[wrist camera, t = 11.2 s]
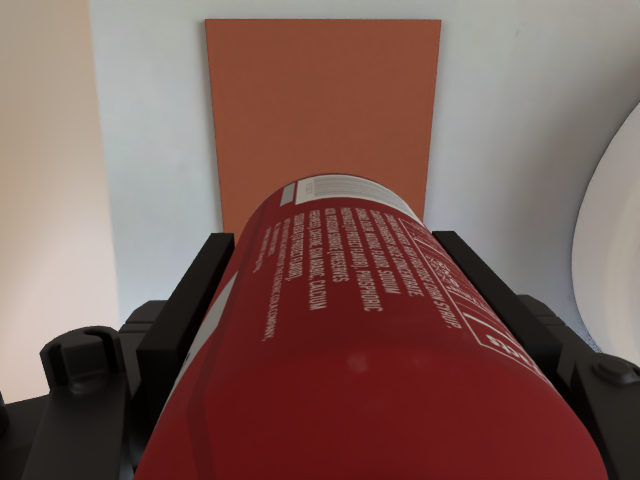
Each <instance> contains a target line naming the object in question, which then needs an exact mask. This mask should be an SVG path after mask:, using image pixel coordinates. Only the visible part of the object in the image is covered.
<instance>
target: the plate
mask: <svg viewBox="0 0 640 480" xmlns="http://www.w3.org/2000/svg"><path fill="white" fill-rule="evenodd" d="M572 281H573V290H574V294H575V299H576V303H577V307H578V310H579V312H580V315H581V318H582V320H583V323H584V325H585V326H586V328H587V330H588V332H589V334H590V335H591V337H592V339H593V340H594V341H595V343H596V344H597V345H598V347H599V348H600V349H601V351H602V352H603V353H606V354H609V355H613V356H617V357H620V358H622V359H625V360H627V361H630V362H632V363H634V364H635V365H637V366H638V367H640V102H639V104H638V105H637V106H636V107H635V109H634V110H633V111H632V112H631V113H630V115H629V116H628V117H627V119H626V120H625V122H624V123H623V125H622V126H621V127H620V129H619V130H618V132H617V133H616V135H615V136H614V138H613V139H612V141H611V143H610V144H609V146H608V148H607V150H606V151H605V153H604V155H603V157H602V158H601V160H600V162H599V164H598V166H597V168H596V170H595V172H594V174H593V177H592V179H591V181H590V183H589V185H588V188H587V191H586V194H585V196H584V199H583V202H582V205H581V208H580V211H579V216H578V220H577V224H576V228H575V233H574V240H573V248H572Z"/></svg>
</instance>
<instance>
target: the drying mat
mask: <svg viewBox="0 0 640 480" xmlns="http://www.w3.org/2000/svg"><path fill="white" fill-rule="evenodd" d="M205 27H206V38H207V49H208V61H209V72H210V83H211V94H212V105H213V117H214V128H215V139H216V150H217V162H218V173H219V184H220V195H221V207H222V218H223V229H224V233H234V240H235V247H236V245H237V243H238V240H239V238H240V236H241V234H242V232H243V229H244V227H245V225H246V223H247V221H248V220H249V218H250V217H251V215H252V213H253V212H254V211H255V210H256V208H257V207H258V206H259V205H260V204H261V203H262V202H263V201H264V200H265V199H266V198H267V197H268V196H269V195H271V194H272V193H273V192H274V191H276V190H277V189H279V188H280V187H282V186H284V185H286V184H288V183H290V182H292V181H294V180H297V179H299V178H302V177H306V176H309V175H314V174H319V173H329V172H340V173H350V174H355V175H360V176H363V177H367V178H370V179H372V180H374V181H377V182H379V183H381V184H383V185H384V186H386V187H388V188H389V189H391V190H392V191H394V192H395V193H396V194H397V195H399V196H400V197H401V198H402V199H403V200H404V201H405V202H406V203H407V204H408V205H409V206H410V208H411V209H412V210H413V211H414V213H415V214H416V215H417V216H418V218H419V219H420V220H421V221H422V223H423V214H424V203H425V192H426V181H427V171H428V160H429V149H430V138H431V127H432V117H433V106H434V95H435V84H436V74H437V63H438V52H439V41H440V31H441V20H351V19H205Z"/></svg>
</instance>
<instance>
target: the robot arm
mask: <svg viewBox="0 0 640 480" xmlns="http://www.w3.org/2000/svg"><path fill="white" fill-rule="evenodd" d="M432 235H433V236H434V238H435V239H436V240H437V241H438V243H439V244H440V245H441V246H442V248H443V249H444V250H445V251H446V253H447V254H448V255H449V256H450V258H451V259H452V260H453V261H454V263H455V264H456V265H457V266H458V268H459V269H460V270H461V271H462V273H463V274H464V275H465V276H466V278H467V279H468V280H469V281H470V283H471V284H472V285H473V286H474V288H475V289H476V290H477V291H478V293H479V294H480V295H481V296H482V298H483V299H484V300H485V301H486V303H487V304H488V305H489V306H490V308H491V309H492V310H493V311H494V313H495V314H496V315H497V316H498V318H499V319H500V320H501V321H502V323H503V324H504V325H505V326H506V328H507V329H508V330H509V331H510V333H511V334H512V335H513V336H514V338H515V339H516V340H517V341H518V343H519V344H520V345H521V346H522V348H523V349H524V350H525V351H526V353H527V354H528V355H529V356H530V358H531V359H532V360H533V361H534V363H535V364H536V365H537V366H538V368H539V369H540V370H541V371H542V373H543V374H544V375H545V376H546V378H547V379H548V380H549V381H550V383H551V384H552V385H553V386H554V388H555V389H556V390H557V391H558V393H559V394H560V395H561V396H562V398H563V399H564V400H565V401H566V403H567V404H568V405H569V406H570V408H571V409H572V410H573V412H574V413H575V414H576V416H577V417H578V418H579V419H580V421H581V422H582V423H583V425H584V426H585V427H586V429H587V430H588V432H589V434H590V436H591V437H592V439H593V441H594V443H595V445H596V446H597V448H598V450H599V453H600V455H601V458H602V460H603V463H604V466H605V468H606V471H607V476H608V480H640V367H638V366H637V365H635V364H634V363H632V362H630V361H627V360H625V359H622V358H620V357H617V356H613V355H609V354H606V353H596V352H595V351H594V350H593V349H592V348H591V347H590V346H589V345H587V344H586V343H585V342H584V341H583V340H582V339H581V338H580V337H579V336H578V335H577V334H576V333H575V332H574V331H573V330H572V329H571V328H569V327H568V326H566V325H565V323H564V322H563V321H562V320H561V319H560V318H559V317H556V314H555V313H554V312H553V311H551V310H550V309H549V308H548V307H547V306H546V305H545V304H544V303H542V302H540V301H538V300H536V299H534V298H533V297H531V296H529V295H516V294H515V293H514V292H513V291H512V290H511V289H510V288H509V287H508V286H507V285H506V284H505V283H504V282H503V281H502V280H501V279H500V278H499V277H498V276H497V275H496V274H495V273H494V272H493V271H492V270H491V269H490V268H489V267H488V265H487V264H486V263H485V262H484V261H483V260H482V259H481V258H480V257H479V256H478V255H477V254H476V253H475V252H474V251H473V250H472V249H471V248H470V247H469V246H468V245H467V244H466V243H465V242H464V241H463V240H462V239H461V238H460V237H459V236H458V235H457V233H456V232H455V231H432ZM234 249H235V240H234V233H211V235H210V236H209V238H208V239H207V241H206V242H205V244H204V245H203V247H202V248H201V250H200V252H199V253H198V255H197V256H196V258H195V259H194V261H193V262H192V264H191V265H190V267H189V268H188V270H187V272H186V273H185V275H184V276H183V278H182V279H181V281H180V282H179V284H178V285H177V287H176V289H175V290H174V292H173V293H172V295H171V296H170V298H169V299H168V300H153V301H148V302H146V303H145V304H143V305H142V306H140V307H139V308H137V309H136V310H134V311H133V313H132V314H131V315H130V317H129V318H128V319H127V321H126V323H125V324H123V326H122V327H121V328H120V330H119V331H116V330H114V329H113V328H111V327H106V326H90V327H84V328H79V329H75V330H72V331H69V332H67V333H65V334H62V335H60V336H58V337H56V338H54V339H53V340H52V341H50V342H49V343H47V344H46V345H45V346H44V347H43V349H42V350H41V352H40V357H41V361H42V364H43V368H44V371H45V375H46V378H47V381H48V385H49V388H50V392H49V394H47V395H44V396H41V397H37V398H32V399H27V400H23V401H18V402H14V403H9V404H4V400H3V398H2V395H1V392H0V480H133V477H134V475H135V472H136V469H137V466H138V464H139V462H140V460H141V457H142V455H143V453H144V451H145V449H146V446H147V444H148V442H149V440H150V437H151V435H152V433H153V431H154V428H155V426H156V424H157V422H158V419H159V417H160V415H161V413H162V410H163V408H164V406H165V404H166V402H167V399H168V397H169V395H170V393H171V390H172V388H173V386H174V384H175V381H176V379H177V377H178V375H179V372H180V370H181V368H182V366H183V364H184V361H185V359H186V357H187V355H188V352H189V350H190V348H191V346H192V343H193V341H194V339H195V337H196V334H197V332H198V330H199V328H200V325H201V323H202V321H203V319H204V317H205V314H206V312H207V310H208V308H209V305H210V303H211V301H212V299H213V296H214V294H215V292H216V290H217V287H218V285H219V283H220V281H221V279H222V276H223V274H224V272H225V270H226V267H227V265H228V263H229V261H230V258H231V256H232V254H233V252H234Z"/></svg>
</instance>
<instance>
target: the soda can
mask: <svg viewBox="0 0 640 480" xmlns="http://www.w3.org/2000/svg"><path fill="white" fill-rule="evenodd" d="M133 480H608V476H607V471H606V468H605V466H604V463H603V460H602V458H601V455H600V453H599V450H598V448H597V446H596V445H595V443H594V441H593V439H592V437H591V436H590V434H589V432H588V430H587V429H586V427H585V426H584V425H583V423H582V422H581V421H580V419H579V418H578V417H577V416H576V414H575V413H574V412H573V410H572V409H571V408H570V406H569V405H568V404H567V403H566V401H565V400H564V399H563V398H562V396H561V395H560V394H559V393H558V391H557V390H556V389H555V388H554V386H553V385H552V384H551V383H550V381H549V380H548V379H547V378H546V376H545V375H544V374H543V373H542V371H541V370H540V369H539V368H538V366H537V365H536V364H535V363H534V361H533V360H532V359H531V358H530V356H529V355H528V354H527V353H526V351H525V350H524V349H523V348H522V346H521V345H520V344H519V343H518V341H517V340H516V339H515V338H514V336H513V335H512V334H511V333H510V331H509V330H508V329H507V328H506V326H505V325H504V324H503V323H502V321H501V320H500V319H499V318H498V316H497V315H496V314H495V313H494V311H493V310H492V309H491V308H490V306H489V305H488V304H487V303H486V301H485V300H484V299H483V298H482V296H481V295H480V294H479V293H478V291H477V290H476V289H475V288H474V286H473V285H472V284H471V283H470V281H469V280H468V279H467V278H466V276H465V275H464V274H463V273H462V271H461V270H460V269H459V268H458V266H457V265H456V264H455V263H454V261H453V260H452V259H451V258H450V256H449V255H448V254H447V253H446V251H445V250H444V249H443V248H442V246H441V245H440V244H439V243H438V241H437V240H436V239H435V238H434V236H433V235H432V234H431V233H430V231H429V230H428V229H427V228H426V226H425V225H424V224H423V223H422V221H421V220H420V219H419V218H418V216H417V215H416V214H415V213H414V211H413V210H412V209H411V208H410V206H409V205H408V204H407V203H406V202H405V201H404V200H403V199H402V198H401V197H400V196H399V195H397V194H396V193H395V192H394V191H392V190H391V189H389V188H388V187H386V186H384V185H383V184H381V183H379V182H377V181H374V180H372V179H370V178H367V177H363V176H360V175H355V174H350V173H340V172H329V173H319V174H314V175H309V176H306V177H302V178H299V179H297V180H294V181H292V182H290V183H288V184H286V185H284V186H282V187H280V188H279V189H277V190H276V191H274V192H273V193H272V194H271V195H269V196H268V197H267V198H266V199H265V200H264V201H263V202H262V203H261V204H260V205H259V206H258V207H257V208H256V210H255V211H254V212H253V213H252V215H251V217H250V218H249V220H248V221H247V223H246V225H245V227H244V229H243V232H242V234H241V236H240V238H239V240H238V243H237V245H236V247H235V249H234V252H233V254H232V256H231V258H230V261H229V263H228V265H227V267H226V270H225V272H224V274H223V276H222V279H221V281H220V283H219V285H218V287H217V290H216V292H215V294H214V296H213V299H212V301H211V303H210V305H209V308H208V310H207V312H206V314H205V317H204V319H203V321H202V323H201V325H200V328H199V330H198V332H197V334H196V337H195V339H194V341H193V343H192V346H191V348H190V350H189V352H188V355H187V357H186V359H185V361H184V364H183V366H182V368H181V370H180V372H179V375H178V377H177V379H176V381H175V384H174V386H173V388H172V390H171V393H170V395H169V397H168V399H167V402H166V404H165V406H164V408H163V410H162V413H161V415H160V417H159V419H158V422H157V424H156V426H155V428H154V431H153V433H152V435H151V437H150V440H149V442H148V444H147V446H146V449H145V451H144V453H143V455H142V457H141V460H140V462H139V464H138V466H137V469H136V472H135V475H134V477H133Z"/></svg>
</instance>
